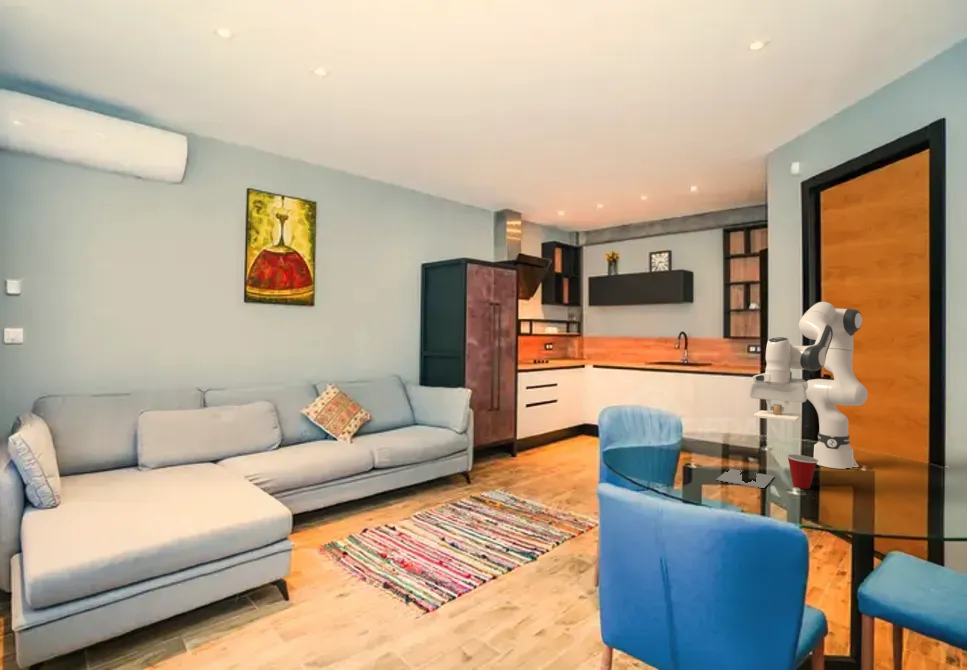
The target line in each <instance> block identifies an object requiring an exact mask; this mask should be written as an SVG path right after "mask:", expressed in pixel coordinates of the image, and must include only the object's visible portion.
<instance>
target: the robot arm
mask: <svg viewBox="0 0 967 670" xmlns="http://www.w3.org/2000/svg"><path fill="white" fill-rule="evenodd" d="M862 326H863V316H862V313H861V312H860V311H859V310H858V309H856V308H855V309H854V308H839V307H838V308H835V306H834V305H833V304H831V303H829V302H827V301H819V302H816V303H815V304H813V305H812V306H811V307H810V308H809V309H808V310H806V311H805V312H804V314H803V315H802V317H801V318H800V320H799V321H798V330H799V332H800V333H801V334H802V335H803V336H804V337H805V338H807V339H810V340H814V341H815V342H814V344H812V345H792V344H791V343H790V339H789V338H788V337H778V336H777V337H772V338H769V339H768V340H767V343H766V348H765V362H766V366H765V371H764V372H762V373H759V374H756V375H753V376H752V381H753V382H751V384H750V388H749V397H750V398H751V399H756V400H765V402H766V404H767V406H768V411H773V405H772V404H771V401H781V402H783V403H784V406H782V407H781V412H785V413H787V407H788V406H789V404H790V402H794V403H806V402H807V400H808V401H809V402H810V403H811V404H812V405H813V407H814V408H815V410H816V413H817V417H818V425H819V429H818V430H819V431H818V433H817V440H818V441H817V442H816V443H815V444H814V445H813V446H814V447H813V457H812V458H815V459H817V460H818V462H817V464H816V465H818V466H822V467H826V468H830V469H831V468H832V469H839V470H847V469H846V468H850V469H853V468H852V467H859V468H860V466H859V464H858V463H857V461H856V459H855V456H854V449H853V448H852V447H851V445H850V443H851V442H850V441H851V438H850V435H849V419H848V417H847V415H845V414H844V413H842V412H841V411H839V409H838V408H837V406H847V407H854V406H855V407H856V406H862V405H864V404H865V403H866V401H867V399H868V390H867V388H866V387H865V385H864V384H862V383H861V382H860V381H859V380H858V379H857V377H856V376H855V373H854V370H853V359H854V357H853V356H854V335H855V334H856V333H857V332H858V331H859V330H861V328H862ZM822 368H824V369H825V370H827V371H828V372H830V373H832V375H833V379H823V378H815V379H808V380H805V379H803V378H796V377H794V378H793V377H791V369H794V370H805V371H811V372H817V371H819V370H821V369H822ZM836 405H837V406H836Z"/></svg>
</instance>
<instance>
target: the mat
mask: <svg viewBox="0 0 967 670" xmlns="http://www.w3.org/2000/svg"><path fill="white" fill-rule="evenodd" d="M729 469H730V470H729V471H728V472H726V471H724V472H723V473H722V474H721V475H719V476H718V477H717V478H716V479H715V481H716V480H719V481H718V482H720V481H723V482H722V483H725V482H728V483H727V484H731V483H733V484H732V485H736V484H741V485H740V486H742V485H748V486H751V487H750V488H753V487H759V488H765V487H766V486H767V485H768V484H770V483H771V482H772V481H773V480H774V479H775V478H774V477H776V475H772V474H771V475H770V474H765V473H758V472H755V473H756V476H757V477H756V482H755V481H753V480H752V481H751V482H748V483H745V482H744V481H742V474H741V475H740V473H741V472H742V471H743V470H741V469H740V470H739V469H734V468H729ZM740 471H741V472H740ZM757 473H758V474H757ZM773 478H774V479H773ZM772 479H773V480H772ZM771 480H772V481H771ZM770 481H771V482H770ZM768 486H769V485H768ZM768 486H767V487H768ZM767 487H766V488H767ZM766 488H765V489H766Z"/></svg>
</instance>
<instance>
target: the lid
mask: <svg viewBox="0 0 967 670" xmlns="http://www.w3.org/2000/svg"><path fill="white" fill-rule="evenodd" d="M772 406H773V411H769V410H762V409H761V410H759V411H758V412H755V413H754V414H752V418H759V419H760V418H761V419H769V420H779V421H789V422H797V421H798V420H799V419H800V418H801V417H802V416H803V415H802V413H794V412H793V413H792V412H781V407H783V405H782V404H779V403H778V404H775V403H774V404H772Z"/></svg>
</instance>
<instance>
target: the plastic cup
mask: <svg viewBox="0 0 967 670" xmlns="http://www.w3.org/2000/svg"><path fill="white" fill-rule="evenodd" d="M786 457H787V460H788V464H789V465H788V466H789V471H790V477H791V480H792V485H793V487H795V488H796V489H802V490H803V489H804V490H805V489H806V490H808V489H811V485H812V481H813V477H814V473H815V469H816V466H817V465H818V464H817V462H818V460H817V459H815V458H813V457H812V456H808V455H803V454H792V453H790V454H787V455H786Z"/></svg>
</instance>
